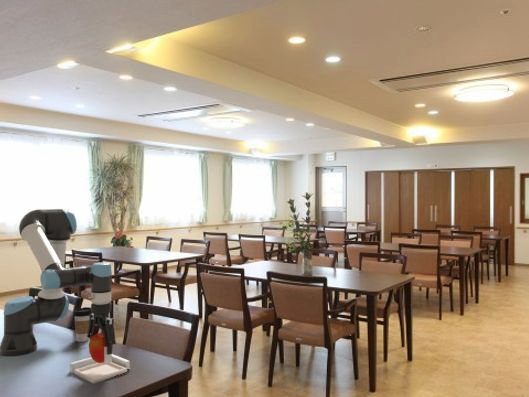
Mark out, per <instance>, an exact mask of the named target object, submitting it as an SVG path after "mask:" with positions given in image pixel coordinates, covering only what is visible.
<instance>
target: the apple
mask: <svg viewBox="0 0 529 397" xmlns="http://www.w3.org/2000/svg"><path fill="white" fill-rule="evenodd" d="M105 345H106V344H105V340H104V336H103V332H102V331H100V332H99V333H98V334H95V335H94V336H93V337H92V338H91V339H90V338H89V342H88V350H89V354H90V357H92V359H93V360H94V361H95V362H97V363H104V346H105ZM113 347H114V345H112V350H113V349H114V348H113Z"/></svg>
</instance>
